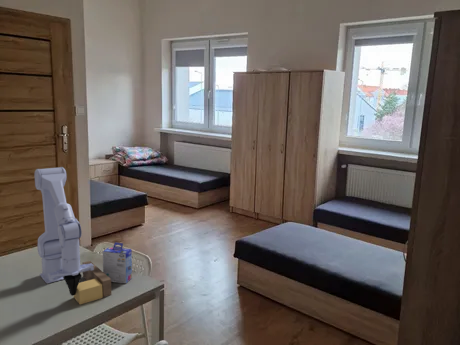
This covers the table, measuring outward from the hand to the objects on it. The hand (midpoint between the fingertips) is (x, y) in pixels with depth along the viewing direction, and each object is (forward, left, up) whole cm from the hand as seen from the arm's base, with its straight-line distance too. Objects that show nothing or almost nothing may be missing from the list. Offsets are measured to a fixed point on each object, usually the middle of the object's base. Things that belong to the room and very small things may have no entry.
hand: (72, 294), depth 139 cm
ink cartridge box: (-7, +20, -3) cm, 21 cm away
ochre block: (0, +5, -3) cm, 6 cm away
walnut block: (-7, +11, -3) cm, 13 cm away
